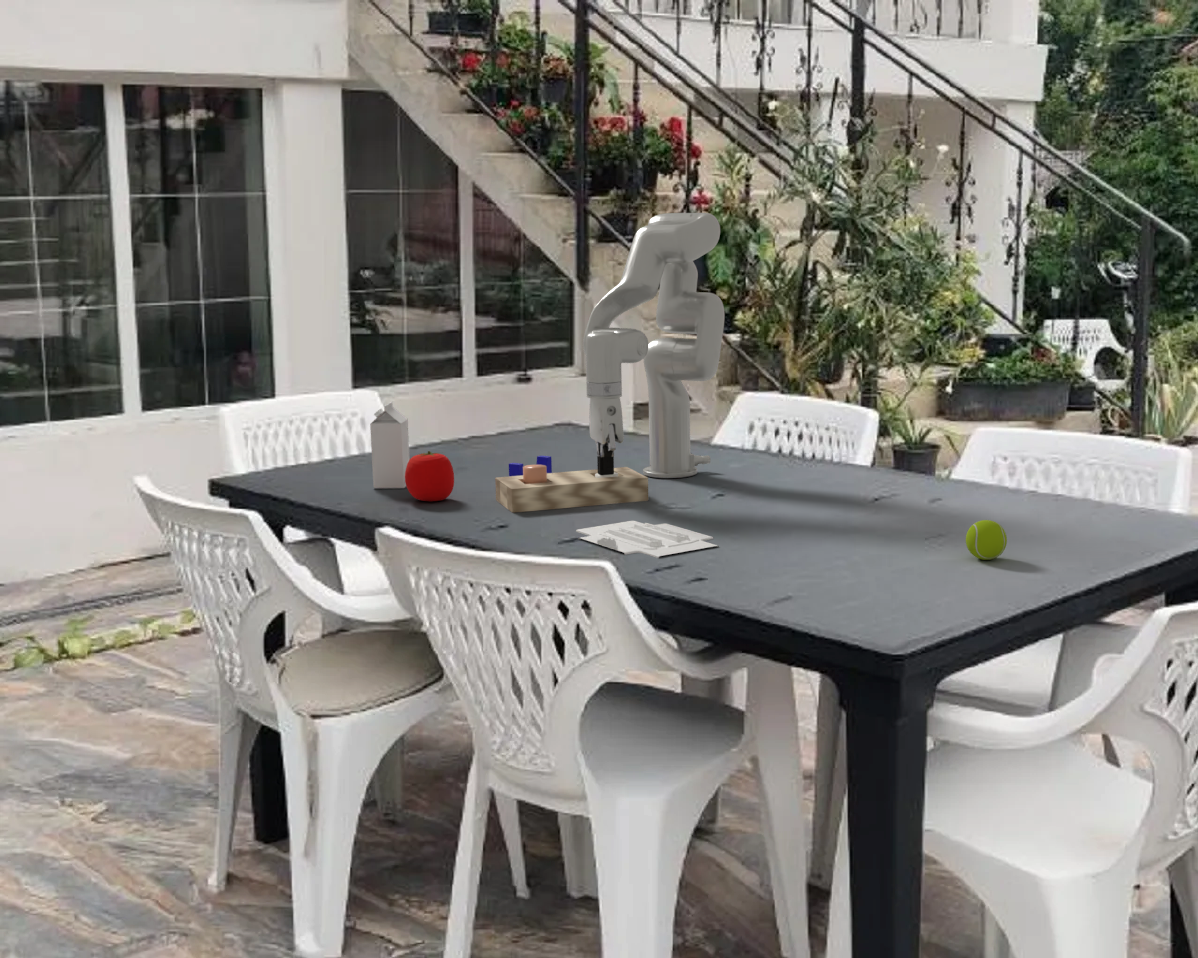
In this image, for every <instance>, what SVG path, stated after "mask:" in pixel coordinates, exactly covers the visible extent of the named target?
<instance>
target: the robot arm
mask: <svg viewBox="0 0 1198 958" xmlns="http://www.w3.org/2000/svg"><path fill="white" fill-rule="evenodd" d="M720 235H721V225H720V222H719V221H718V219H717V217H716V216H715V215H713V214H712V213H709V212H668V213H659V214H656V215H654V216H653V217H650V219H649V221H648V223H647V225H644V226H642V227H640V228H639V229H638V230H637V231H636V232H635V234H634V236H633V239H632V242H631V246H630V249H629V252H628V255H627V259H626V263H625V265H624V269H623V272H622V275H621V278H620V281H619V283H618V284H617V285H616V286H614V287H613V288H612V289H610V290H609V291H608V292H607V293H606V294H605V295H604V296H603V297H602V298H601V299H600V301H598V302H597V304H596V305H595V306H594V307H593V309H592V311H591V313H590V315H589V318H588V321H587V324H586V327H585V330H584V334H583V335H584V336H583V341H582V348H583V353H584V355H585V373H586V374H585V375H586V376H585V377H586V380H585V381H586V384H585V385H586V398H588V399H589V417H588V418H589V422H588V423H589V437H590V438H591V439H592V440H593V441H595V442H594V443H595V445H596V455H597V456H596V457H597V469H598V474H599V475H612V474H614V468H615V457H614V456H615V451H616V447H617V446H616V443H618V444H622V443H624V437H625V436H624V435H625V434H624V424H623V423H624V422H623V421H624V419H623V411H622V409H623V408H622V401H621V397H623V395H622V394H623V393H622V392H623V390H622V389H623V388H622V381H623V380H622V364H635V363H638V362H641V361H642V360H643V366H644V371H645V376H646V382H647V390H648V391H647V393H648V394H647V395H648V428H649V429H648V430H649V431H648V433H649V434H648V435H649V436H648V437H649V438H648V439H649V466H646V467H644V468H643V469H642V472H643V474H642V475H644V476H646V477H648V478H650V477H651V478H657V479H680V478H687V477H693V476H695V475H697V474H698V468H697V466H698V465H705V464H706V465H709V464H711V461H712V460H711V456H710V455H697V454H694V453H691V417H690V416H691V400H690V396H689V392H688V391H687V388H686V387H685V385H684V383H683V382H682V381H688V382H689V381H690V382H692V381H693V382H707V381H709V380H711V379H713V378H714V376H716V374H717V372H718V369H719V363H720V359H721V357H720V356H721V348H722V342H723V334H724V328H725V308H724V304H723V301H722V300H721V298H720V296H718V295H717V294H715V293H712V292H704V291H703V292H702V291H701V292H697V287H698V277H699V274H698V269H697V265H696V264H695V260H697V259H700V258H702V256H704V255H706V254H708V253H710V252H711V251H712V250H713V249H715V247H716V246H717V244H718V242H719V240H720ZM657 294H658V297H657V305H656V316H655V322H656V325H657V328H659V330H660V331H662V332H665V333H670V334H680V335H681V334H685V335H686V334H688V335H696V338H682V337H681V338H678V337H659V338H656V339H654V340H650V342H649V339H648V337H647V336H646V334H645V333H644V332H643V331H641V329H640V330H639V329H636V328H628V327H627V328H626V327H610V326H612V324H613V322H614V321H615V320H616V319H617V318H618V317H619V316H621V315H622V314H624V313H626V312H628V311H630V310H632V309H634V308H638V307H639V306H641V305H643V304H645V303H648V302H650V301H652V300H653V299H654V298H655V297H656V296H657Z"/></svg>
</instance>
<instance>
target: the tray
mask: <svg viewBox="0 0 1198 958" xmlns="http://www.w3.org/2000/svg"><path fill="white" fill-rule="evenodd" d="M575 532H576V533H579V534H582V535H585V536H582V537H578V539H577V540H584V541H588V542H590V543H594V544H596V545H598V546H599V545H600V546H602V547H606V548H608V549H611V550H615V551H618V552H619V553H620V552H622V553H624V555H625V556H626V555H632V554H638V553H639V554H644V555H647V556H651V557H654V558H655V559H659V558H660V557H662V556H668V555H672V554H678V553H679V554H680V553H684V552H689V551H695V550H701V549H706V548H713V547H717V548H720V546H719V545H718V544H714V543H710V542H708V540H709V541H710V540H714V537H713V536H711V535H707V534H704V533H700V532H696V531H693V530H690V529H686V528H683V527H679V526H677V525H672V524H669V523H658V524H652V523H648V522H644V523H643V522H639V521H637V520H628V521H621V522H615V523H609V524H604V525H598V526H590V527H585V528H579V529H576V530H575ZM706 541H707V542H706Z"/></svg>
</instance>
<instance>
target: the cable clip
mask: <svg viewBox="0 0 1198 958" xmlns="http://www.w3.org/2000/svg"><path fill="white" fill-rule="evenodd" d="M552 462H553V461H552V456H549V455H537V456H536V464H535V465H545V466H546V468H547V473H553V472H552V471H553V469H552V467H553V466H552ZM523 466H524V463H521V462H520V463H519V462H510V463H508V477H509V476H521V475H523Z"/></svg>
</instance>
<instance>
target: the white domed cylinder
mask: <svg viewBox="0 0 1198 958" xmlns="http://www.w3.org/2000/svg"><path fill="white" fill-rule="evenodd" d="M617 476H618V473H615V472H614V474H612V475H599V474H598V473H596V474H595V477H596V478H605V477H617Z"/></svg>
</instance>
